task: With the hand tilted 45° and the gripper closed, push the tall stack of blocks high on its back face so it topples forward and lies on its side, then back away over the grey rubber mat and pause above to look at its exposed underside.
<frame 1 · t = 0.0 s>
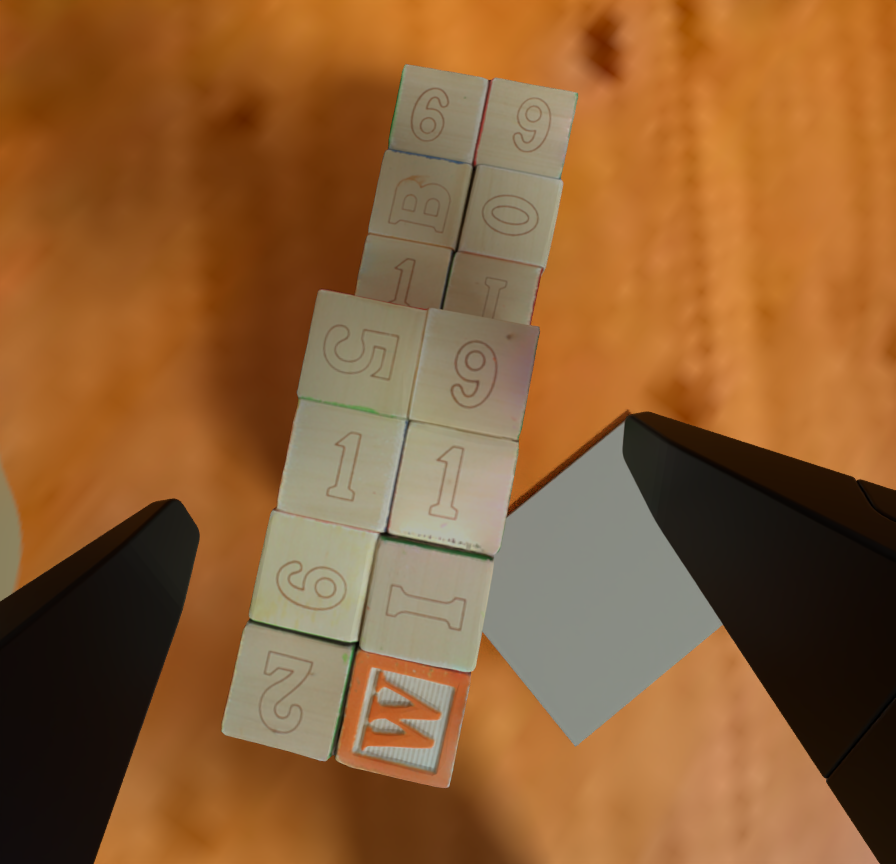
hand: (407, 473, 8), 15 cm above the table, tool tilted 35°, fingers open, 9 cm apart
stack of blocks: (441, 407, 23), on the table, touching grey rubber mat
grey rubber mat: (602, 577, 23), on the table
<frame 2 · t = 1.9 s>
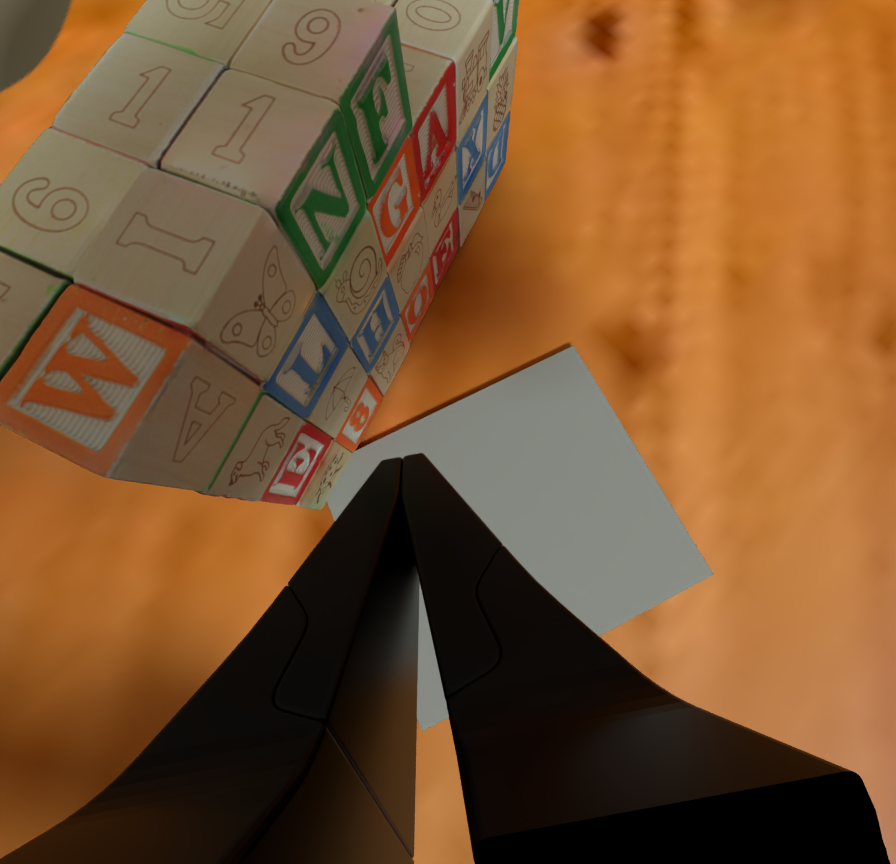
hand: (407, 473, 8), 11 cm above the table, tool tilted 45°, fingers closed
stack of blocks: (371, 302, 22), on the table, touching grey rubber mat
grey rubber mat: (504, 520, 19), on the table
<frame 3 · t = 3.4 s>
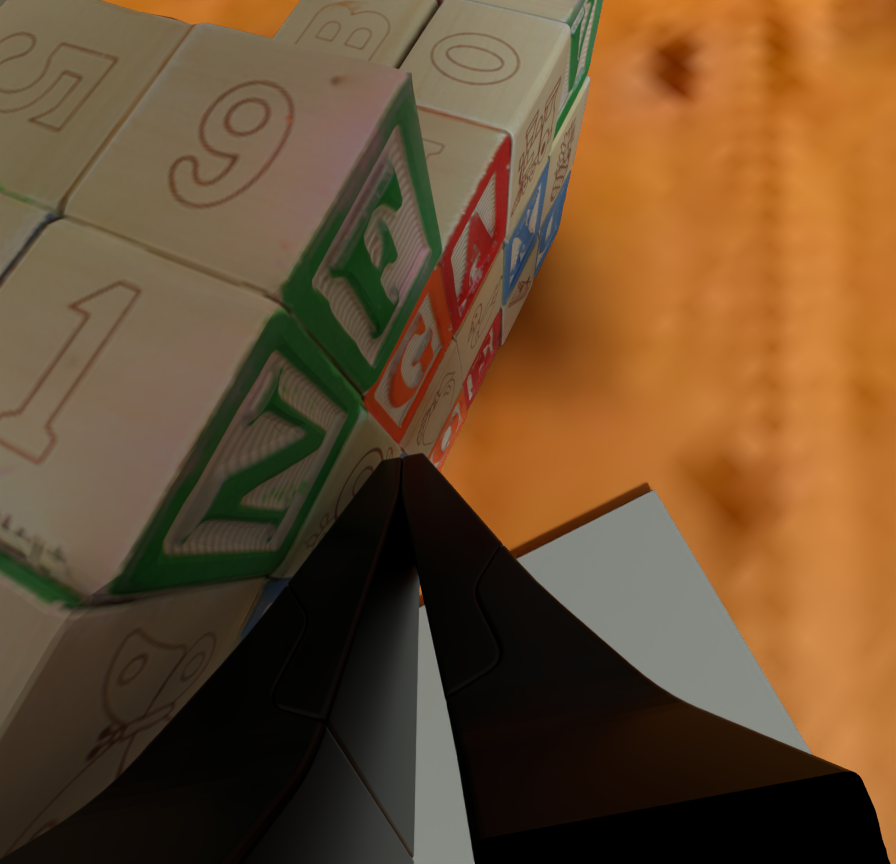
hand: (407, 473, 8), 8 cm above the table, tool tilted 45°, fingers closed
stack of blocks: (384, 419, 17), on the table, touching gripper
grey rubber mat: (565, 744, 14), on the table
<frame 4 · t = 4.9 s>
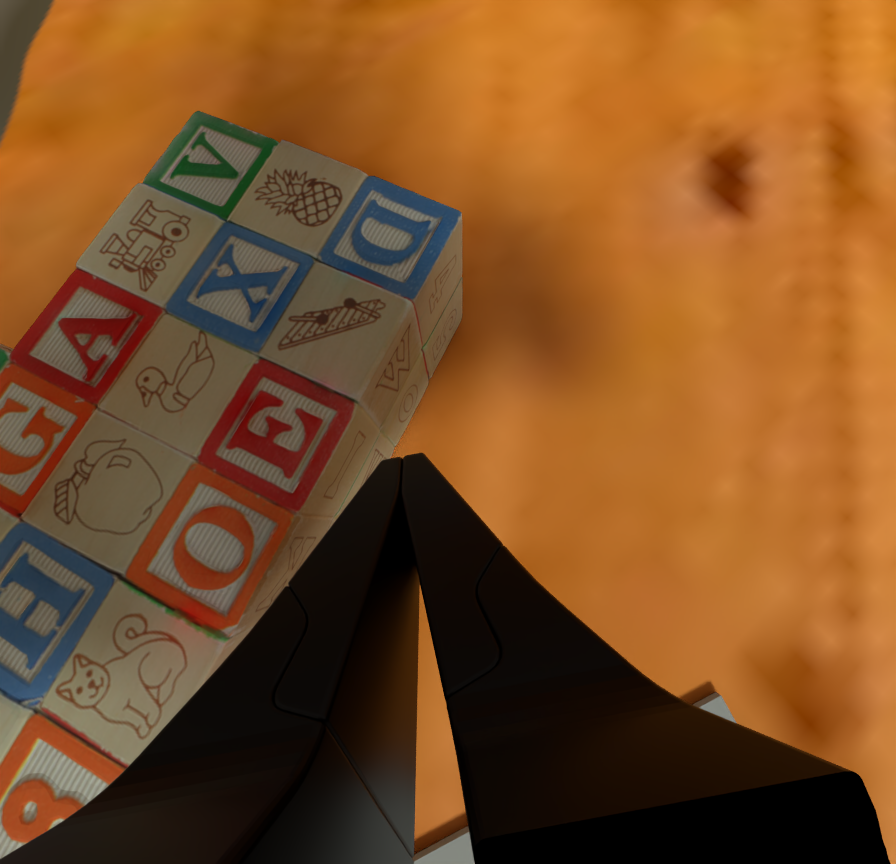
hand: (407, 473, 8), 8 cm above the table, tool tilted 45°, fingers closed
stack of blocks: (318, 569, 12), point 3 cm above the table
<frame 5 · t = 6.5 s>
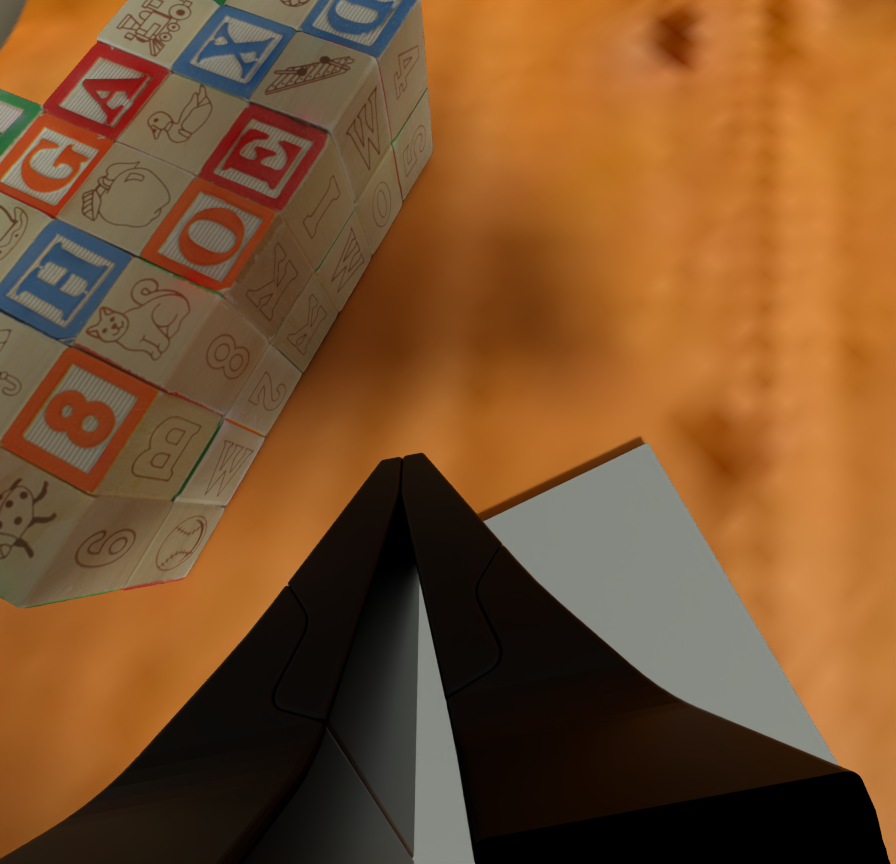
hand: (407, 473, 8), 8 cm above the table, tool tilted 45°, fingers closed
stack of blocks: (301, 311, 15), point 3 cm above the table
grey rubber mat: (558, 680, 15), on the table
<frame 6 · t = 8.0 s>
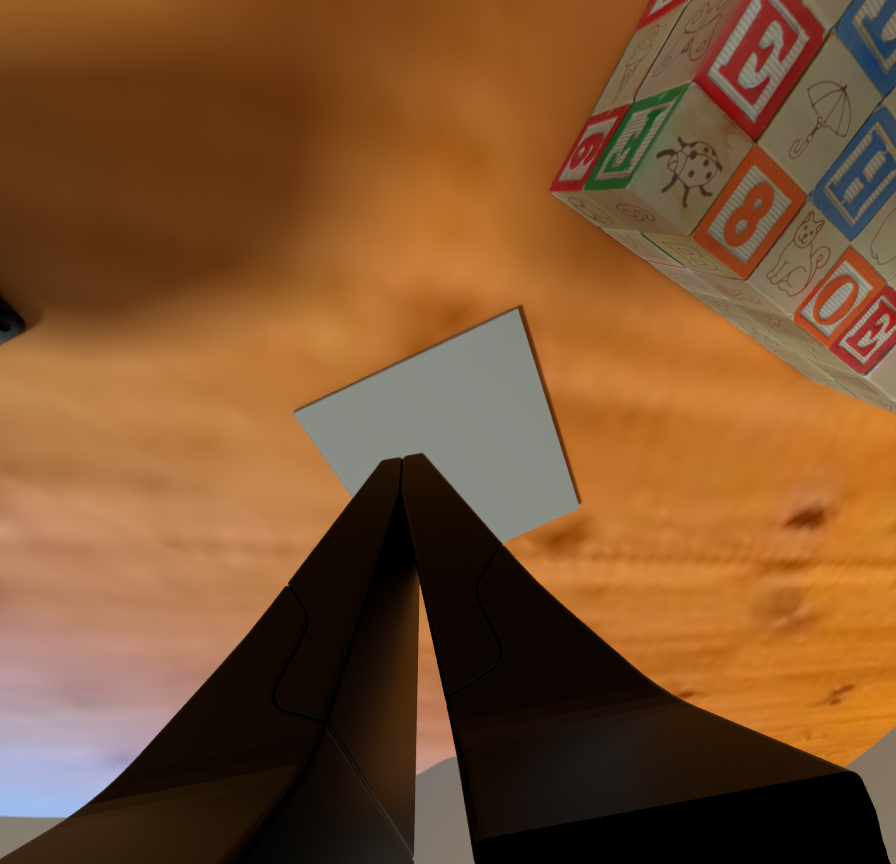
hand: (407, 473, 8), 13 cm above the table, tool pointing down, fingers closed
stack of blocks: (744, 321, 20), point 3 cm above the table
grey rubber mat: (455, 464, 24), on the table
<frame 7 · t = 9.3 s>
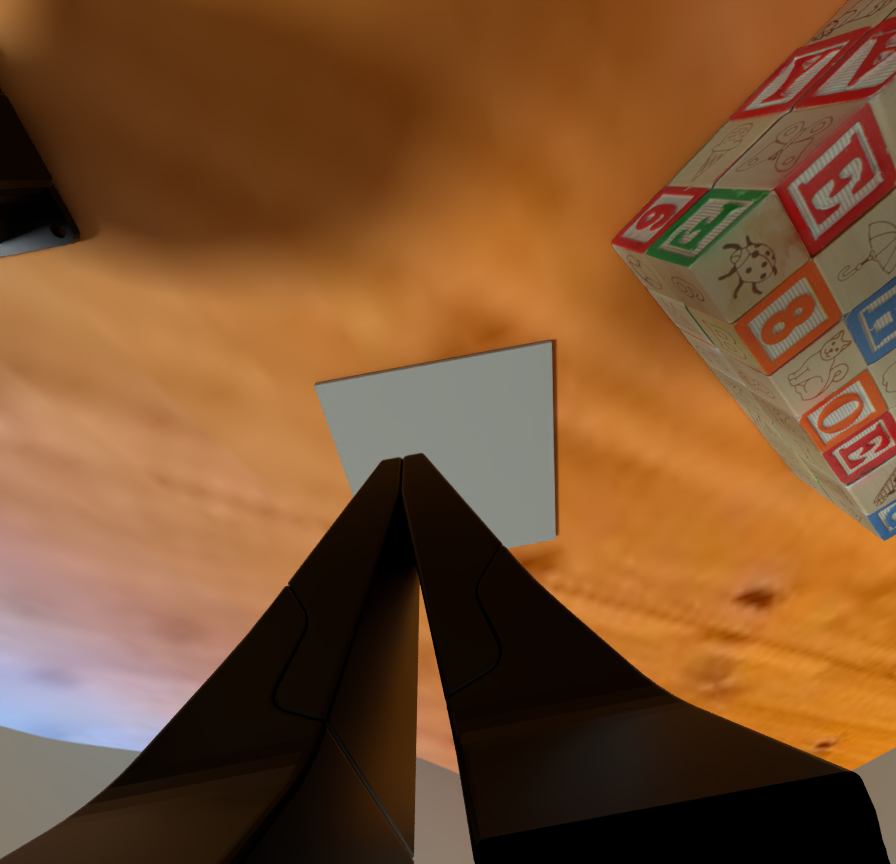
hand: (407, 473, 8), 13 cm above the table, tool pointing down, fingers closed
stack of blocks: (753, 408, 21), point 3 cm above the table
grey rubber mat: (452, 471, 25), on the table
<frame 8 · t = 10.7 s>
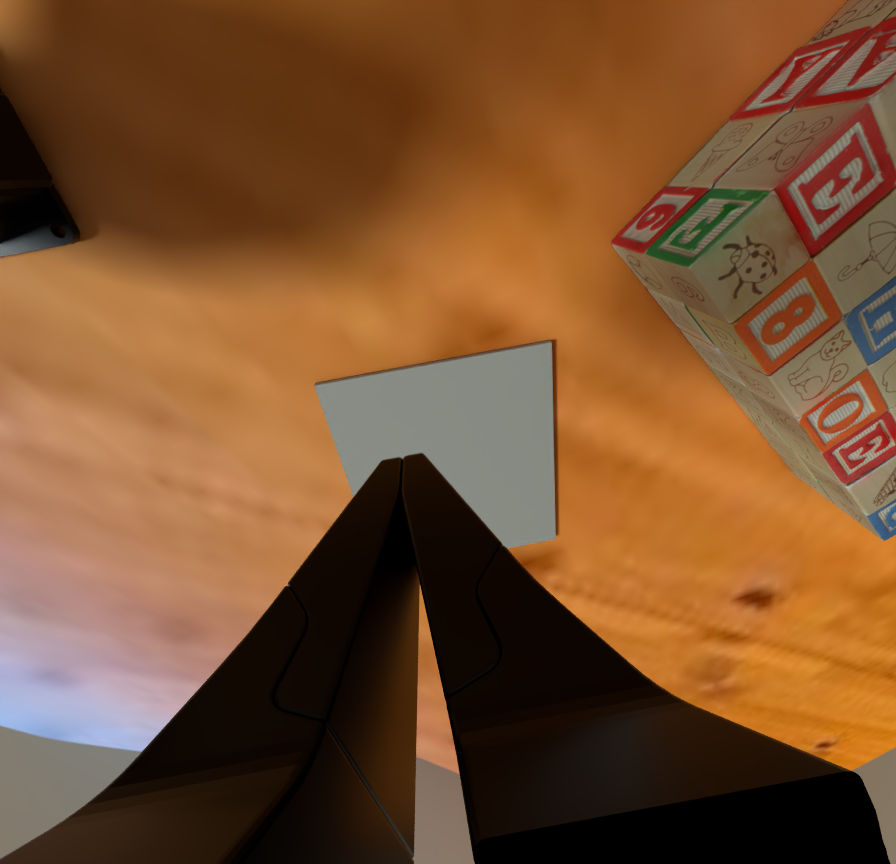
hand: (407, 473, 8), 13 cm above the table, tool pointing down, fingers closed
stack of blocks: (753, 408, 21), point 3 cm above the table
grey rubber mat: (452, 471, 25), on the table
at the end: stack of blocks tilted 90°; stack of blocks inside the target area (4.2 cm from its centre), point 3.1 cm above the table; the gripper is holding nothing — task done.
